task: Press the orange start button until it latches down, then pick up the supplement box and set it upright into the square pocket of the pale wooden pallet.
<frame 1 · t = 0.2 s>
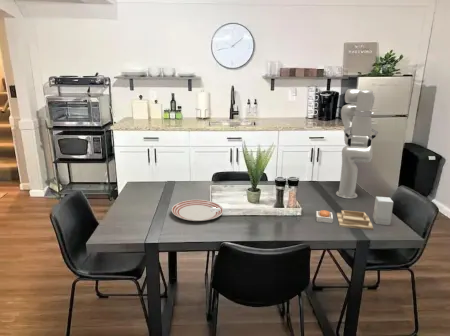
hand: (358, 146, 194), 36 cm above the table, tool pointing down, fingers open, 9 cm apart
button housing: (324, 219, 190), on the table
supplement box: (381, 222, 188), on the table
dinner plate: (197, 214, 193), on the table
start button: (324, 213, 189), point 3 cm above the table, slide at 0.0 cm
pallet: (353, 222, 187), on the table
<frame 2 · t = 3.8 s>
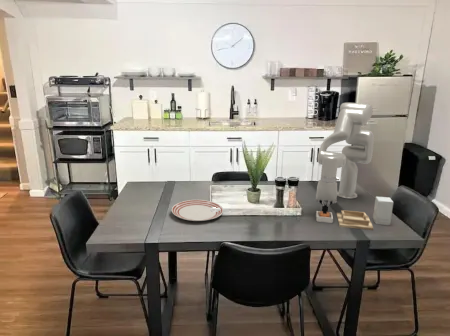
hand: (324, 212, 189), 4 cm above the table, tool pointing down, fingers closed
start button: (324, 214, 189), point 3 cm above the table, slide at 0.3 cm, touching gripper
everything else where it was.
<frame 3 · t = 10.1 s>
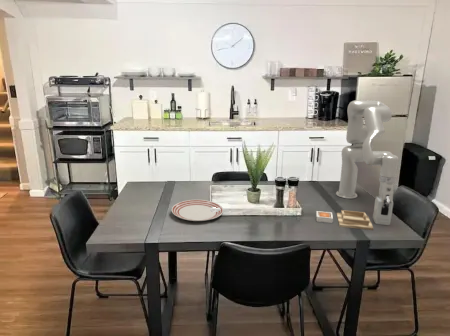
hand: (382, 211, 187), 6 cm above the table, tool pointing down, fingers closed on supplement box, 7 cm apart
supplement box: (381, 222, 188), on the table, touching gripper
start button: (324, 215, 190), point 2 cm above the table, slide at 1.2 cm
everything else where it was.
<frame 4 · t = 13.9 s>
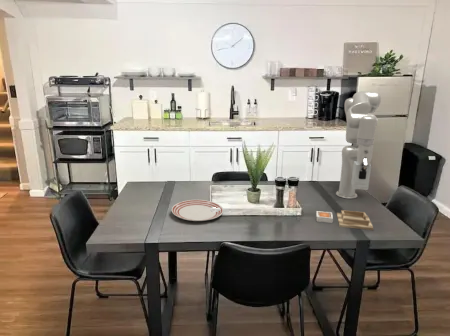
hand: (360, 176, 181), 25 cm above the table, tool pointing down, fingers closed on supplement box, 7 cm apart
supplement box: (359, 187, 182), point 19 cm above the table, touching gripper
everything else where it was.
when the fingers open (8 cm above the table, at t = 17.7 s): supplement box drops 1 cm, resting on pallet.
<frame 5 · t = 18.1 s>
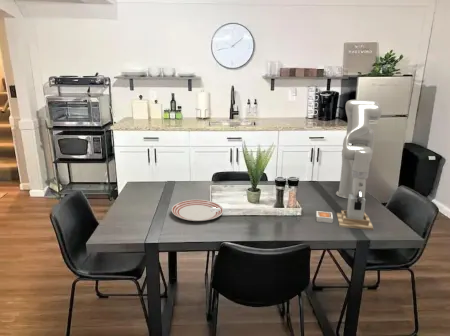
hand: (356, 206, 185), 9 cm above the table, tool pointing down, fingers open, 9 cm apart
supplement box: (354, 220, 187), point 1 cm above the table, touching pallet
everything else where it was.
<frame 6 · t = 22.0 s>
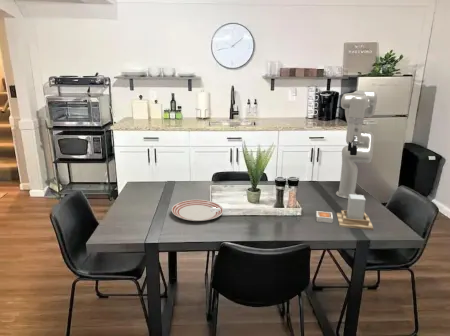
hand: (351, 153, 192), 33 cm above the table, tool pointing down, fingers open, 9 cm apart
nothing on the table moved.
at the end: start button slide at 1.2 cm; supplement box 0.4 cm off-centre on the pallet, point 1.0 cm above the pallet's base; supplement box tilted 0° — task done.
